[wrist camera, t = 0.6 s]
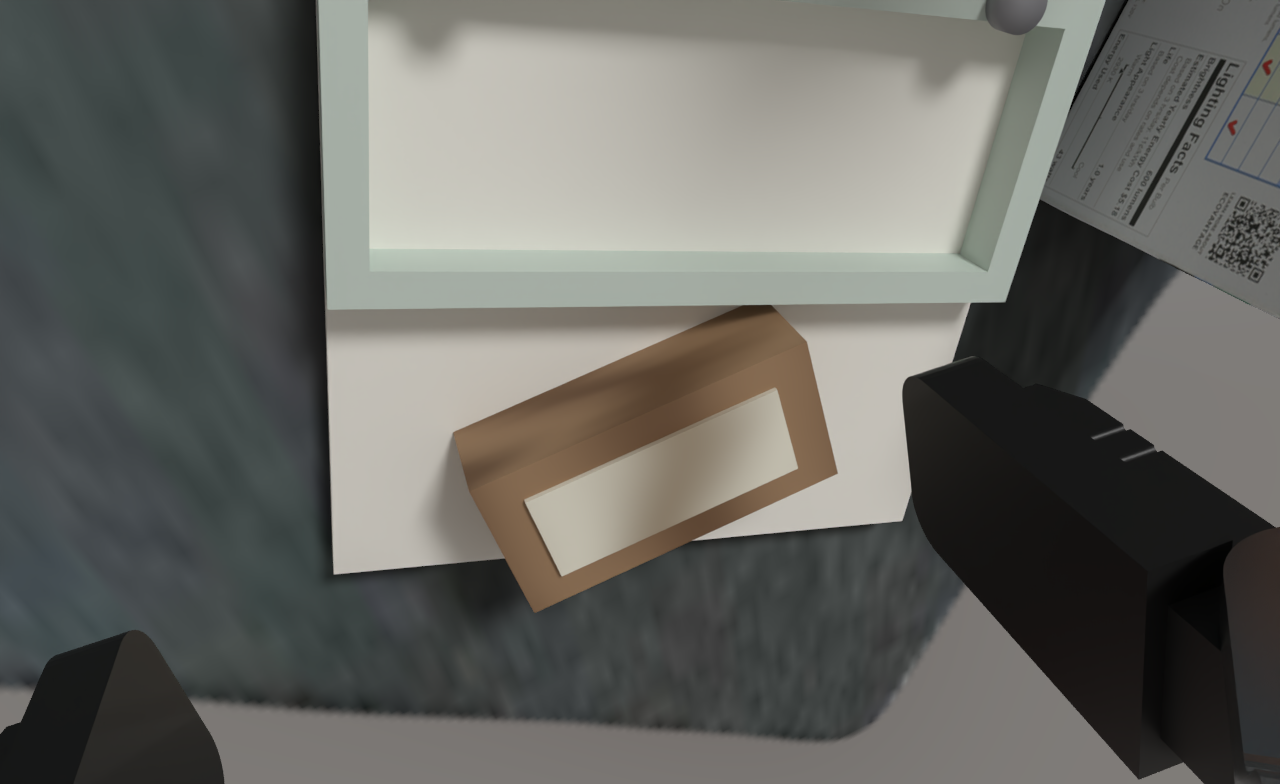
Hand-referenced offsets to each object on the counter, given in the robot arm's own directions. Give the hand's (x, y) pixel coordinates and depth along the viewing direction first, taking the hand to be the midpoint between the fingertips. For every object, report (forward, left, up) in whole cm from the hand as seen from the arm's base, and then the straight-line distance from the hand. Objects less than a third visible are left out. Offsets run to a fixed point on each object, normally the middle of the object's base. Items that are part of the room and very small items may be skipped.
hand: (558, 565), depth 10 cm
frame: (+7, -9, -17) cm, 20 cm away
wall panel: (+8, -4, -18) cm, 20 cm away
